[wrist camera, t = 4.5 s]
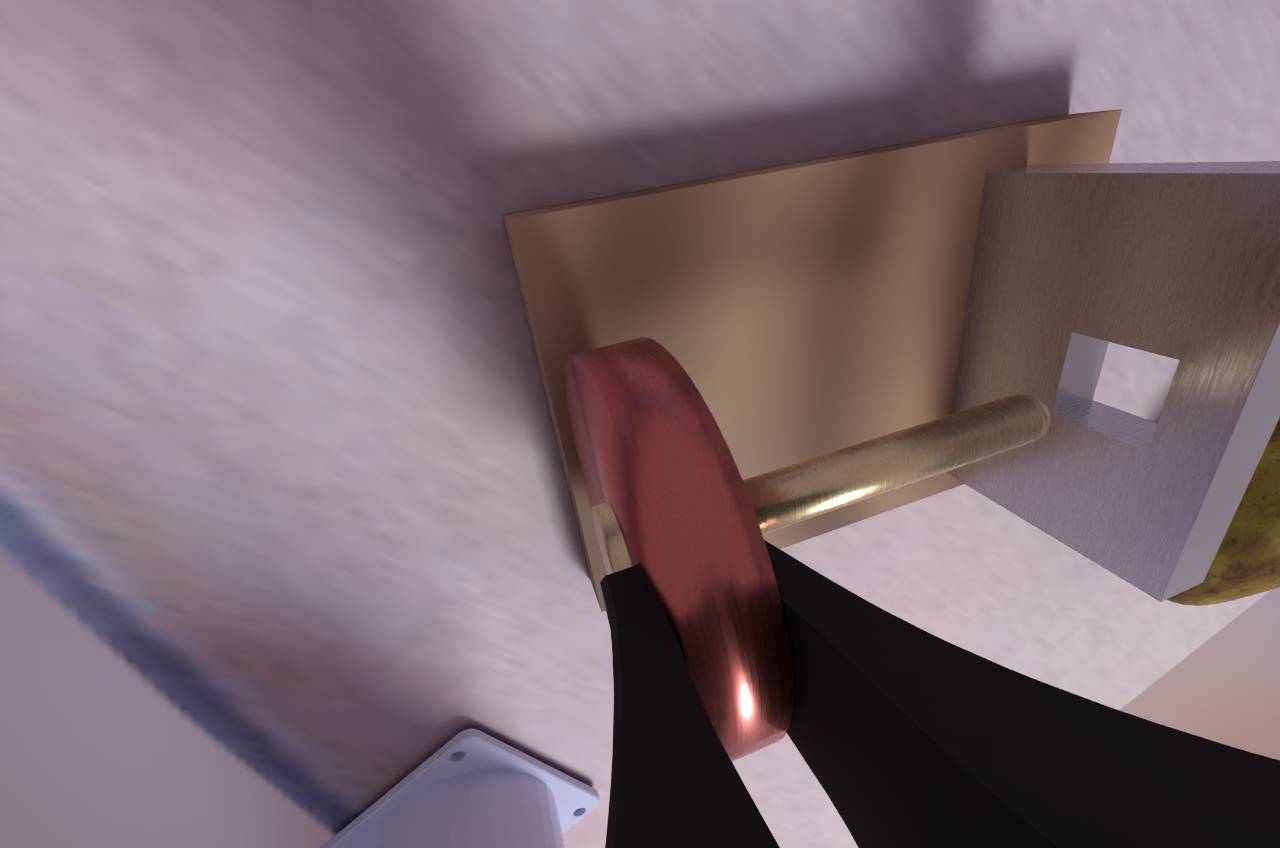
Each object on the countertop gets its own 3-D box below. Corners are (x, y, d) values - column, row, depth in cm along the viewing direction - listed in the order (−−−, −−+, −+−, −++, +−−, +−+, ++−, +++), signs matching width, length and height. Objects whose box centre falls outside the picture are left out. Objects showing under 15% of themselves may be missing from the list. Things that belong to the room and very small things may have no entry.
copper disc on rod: (929, 226, 15) (1358, 273, 8) (903, 471, 18) (1178, 651, 11) (532, 314, 12) (641, 494, 5) (594, 575, 16) (706, 882, 9)
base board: (1070, 114, 17) (1121, 109, 16) (1003, 441, 23) (1037, 457, 21) (502, 215, 13) (508, 219, 12) (591, 581, 19) (601, 611, 17)
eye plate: (1027, 164, 15) (1398, 159, 9) (975, 459, 20) (1202, 582, 14) (985, 172, 15) (1343, 173, 9) (942, 470, 20) (1160, 601, 14)
